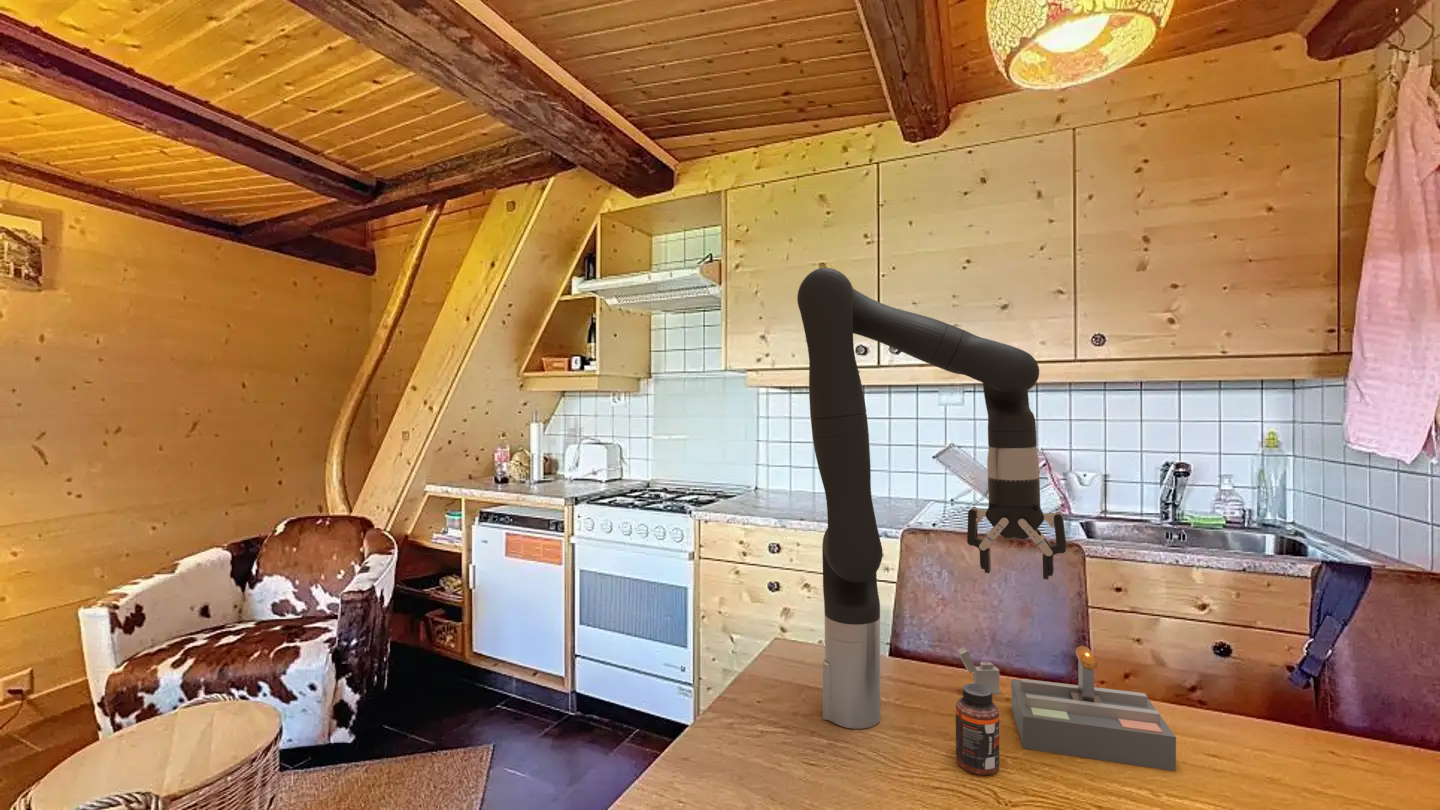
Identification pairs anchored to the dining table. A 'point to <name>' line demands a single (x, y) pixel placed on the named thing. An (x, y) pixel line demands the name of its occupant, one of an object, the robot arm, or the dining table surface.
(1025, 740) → the switch box
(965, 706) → the supplement bottle
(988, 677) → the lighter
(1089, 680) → the breaker handle
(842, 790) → the dining table surface
